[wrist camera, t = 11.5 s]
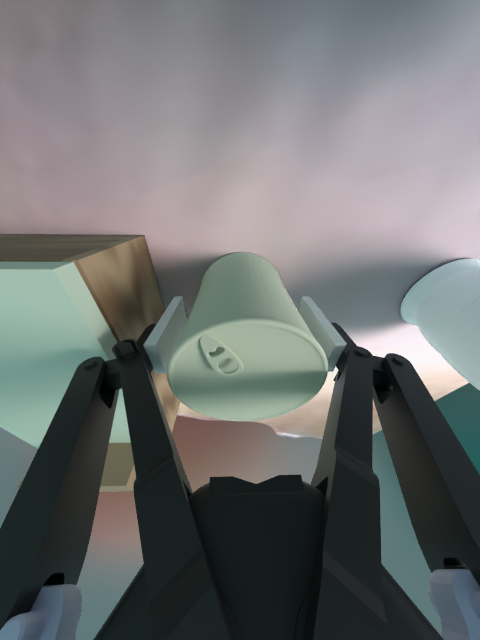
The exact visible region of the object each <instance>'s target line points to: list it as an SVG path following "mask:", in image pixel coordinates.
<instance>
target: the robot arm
mask: <svg viewBox="0 0 480 640" xmlns="http://www.w3.org/2000/svg"><path fill="white" fill-rule="evenodd" d="M298 312H299V313H300V315H301V317H302V318H303V320H304V322H305V323H306V325H307V327H308V328H309V330H310V332H311V333H312V335H313V336H314V338H315V339H316V341H317V342H318V343H319V344H320V345H321V347H322V348H323V350H324V352H325V355H326V357H327V362H328V371H333V370H334V368H335V366H336V367H337V368H338V370H339V371H338V373H337V375H336V376H335V378H334V380H333V381H335V385H334V389H333V394H332V399H331V403H330V408H329V412H328V417H327V422H326V426H325V431H324V436H323V440H322V445H321V450H320V454H319V459H318V464H317V468H316V471H315V473H314V476H313V479H312V482H311V485H310V484H308V483H306V482H304V481H302V478H301V475H279V476H276V477H274V478H271V479H268V480H266V481H264V482H261V483H259V484H254V483H251V482H247V481H244V480H242V479H239V478H235V477H210V483H208V484H205V485H204V486H202V487H200V488H199V489H198V490H196V491H195V492H194V493H192V489H191V487H190V484H189V481H188V479H187V476H186V474H185V471H184V469H183V465H182V463H181V460H180V457H179V454H178V451H177V448H176V445H175V442H174V439H173V436H172V433H171V430H170V427H169V425H168V422H167V419H166V416H165V413H164V410H163V407H162V404H161V401H160V398H159V395H158V392H157V389H156V386H155V384H154V381H153V378H152V375H151V372H152V370H153V369H154V371H155V373H166V372H167V365H168V361H169V359H170V356H171V354H172V352H173V351H174V349H175V348H176V346H177V343H178V341H179V339H180V337H181V334H182V332H183V330H184V327H185V325H186V322H187V316H186V311H185V306H184V301H183V296H174V298H173V299H172V301H171V303H170V304H169V306H168V307H167V309H166V310H165V312H164V314H163V315H162V317H161V318H160V320H159V321H158V323H157V324H151V325H149V326H148V327H146V328H145V330H144V331H143V333H142V334H141V336H140V337H139V338H138V340H137V341H135V340H134V339H125V340H122V341H120V342H118V343H116V344H115V345H114V346H113V347H112V352H113V353H114V355H115V357H116V359H112V360H107V361H104V359H103V358H102V357H92V358H89V359H87V360H85V361H83V362H82V363H81V364H79V366H78V367H77V369H76V371H75V373H74V375H73V377H72V379H71V381H70V384H69V386H68V388H67V390H66V392H65V394H64V396H63V398H62V400H61V402H60V405H59V407H58V409H57V411H56V413H55V415H54V417H53V419H52V421H51V423H50V425H49V428H48V430H47V432H46V434H45V436H44V438H43V440H42V442H41V444H40V446H39V449H38V451H37V453H36V455H35V457H34V459H33V461H32V463H31V465H30V467H29V470H28V472H27V474H26V476H25V478H24V480H23V482H22V484H21V486H20V488H19V490H18V492H17V495H16V497H15V499H14V501H13V503H12V505H11V507H10V509H9V511H8V513H7V516H6V518H5V520H4V522H3V524H2V526H1V528H0V640H75V633H76V629H77V624H78V622H79V619H80V616H81V606H82V605H81V604H82V595H81V591H80V589H79V588H78V587H77V585H76V584H77V582H78V578H79V575H80V572H81V569H82V566H83V563H84V559H85V556H86V552H87V548H88V544H89V540H90V536H91V531H92V525H93V520H94V515H95V511H96V505H97V500H98V495H99V490H100V485H101V480H102V475H103V470H104V465H105V460H106V455H107V450H108V445H109V440H110V435H111V430H112V425H113V420H114V415H115V410H116V405H117V400H118V395H119V390H120V389H122V392H123V398H124V404H125V410H126V416H127V423H128V429H129V435H130V441H131V447H132V454H133V460H134V466H135V472H136V479H135V481H134V487H133V489H134V498H135V505H136V511H137V519H138V526H139V533H140V540H141V547H142V554H143V560H144V564H143V566H142V567H141V569H140V570H139V572H138V573H137V575H136V576H135V578H134V579H133V581H132V582H131V584H130V585H129V587H128V588H127V590H126V591H125V593H124V594H123V596H122V597H121V599H120V601H119V602H118V604H117V605H116V606H115V608H114V609H113V611H112V612H111V614H110V616H109V617H108V618H107V620H106V622H105V623H104V624H103V626H102V628H101V629H100V631H99V632H98V634H97V635H96V637H95V638H94V640H480V475H479V473H478V472H477V470H476V468H475V467H474V465H473V463H472V462H471V460H470V458H469V457H468V455H467V454H466V452H465V450H464V449H463V447H462V446H461V444H460V442H459V441H458V439H457V438H456V436H455V434H454V433H453V431H452V429H451V428H450V426H449V424H448V423H447V421H446V419H445V418H444V416H443V414H442V413H441V411H440V410H439V408H438V407H437V405H436V403H435V401H434V400H433V398H432V397H431V395H430V393H429V392H428V390H427V388H426V387H425V385H424V384H423V382H422V380H421V379H420V377H419V375H418V374H417V372H416V371H415V369H414V367H413V366H412V364H411V363H410V362H409V361H408V360H407V359H406V358H404V357H402V356H400V355H397V354H393V353H390V354H387V355H386V356H385V358H382V357H377V356H372V354H371V353H370V352H369V351H368V350H366V349H364V348H362V347H358V346H356V344H355V343H354V342H353V341H352V340H351V338H350V337H349V336H348V335H347V334H346V332H345V331H344V330H343V329H342V328H341V327H340V326H339V325H338V324H336V323H330V321H329V320H328V319H327V318H326V316H325V315H324V314H323V312H322V311H321V310H320V309H319V307H318V306H317V305H316V304H315V302H314V301H313V300H312V298H311V297H310V296H302V298H301V302H300V307H299V311H298ZM373 400H374V403H375V407H376V410H377V413H378V416H379V420H380V423H381V426H382V429H383V432H384V436H385V439H386V442H387V445H388V449H389V452H390V455H391V458H392V461H393V465H394V468H395V471H396V474H397V477H398V481H399V484H400V487H401V491H402V494H403V497H404V499H405V503H406V507H407V510H408V513H409V516H410V520H411V523H412V526H413V529H414V531H415V534H416V537H417V540H418V543H419V545H420V548H421V550H422V552H423V555H424V557H425V559H426V562H427V564H428V567H429V569H430V571H431V573H432V574H431V578H430V585H431V587H430V588H429V592H428V593H429V598H430V601H431V603H432V605H433V607H434V609H435V611H436V612H437V613H438V615H439V616H440V618H441V624H442V637H441V636H440V634H439V633H438V632H437V631H436V629H435V628H434V627H433V626H432V625H431V623H430V622H429V621H428V620H427V619H426V617H425V616H424V615H423V614H422V612H421V611H420V610H419V609H418V608H417V606H416V605H415V604H414V603H413V602H412V600H411V599H410V598H409V597H408V596H407V594H406V593H405V592H404V591H403V589H402V588H401V587H400V586H399V585H398V583H397V582H396V581H395V580H394V579H393V577H392V576H391V575H390V574H389V572H388V571H387V570H386V569H385V567H384V566H383V565H382V564H381V532H380V531H381V530H380V487H379V480H378V477H377V475H376V474H374V473H373V470H372V411H373Z"/></svg>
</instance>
